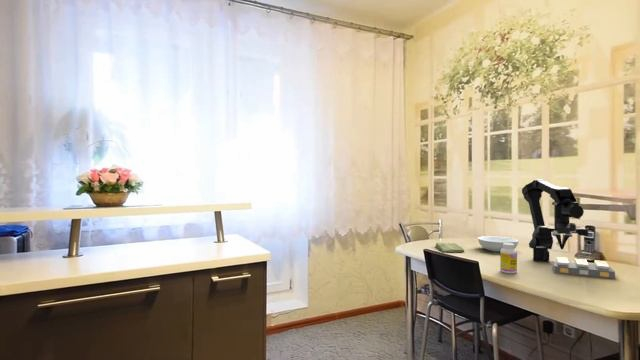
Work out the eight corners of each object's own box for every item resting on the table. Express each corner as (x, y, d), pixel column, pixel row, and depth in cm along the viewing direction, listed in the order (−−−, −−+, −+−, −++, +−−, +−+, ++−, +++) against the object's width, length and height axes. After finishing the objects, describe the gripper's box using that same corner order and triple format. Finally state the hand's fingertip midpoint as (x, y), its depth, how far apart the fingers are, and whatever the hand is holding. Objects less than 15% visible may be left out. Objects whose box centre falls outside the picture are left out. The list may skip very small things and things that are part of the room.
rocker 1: (558, 264, 157) (558, 262, 157) (556, 259, 162) (556, 256, 162) (568, 265, 155) (568, 263, 155) (567, 260, 160) (567, 257, 160)
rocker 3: (597, 268, 150) (597, 265, 150) (594, 262, 155) (594, 260, 155) (609, 269, 148) (609, 266, 148) (605, 263, 153) (605, 260, 153)
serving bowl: (526, 254, 192) (526, 241, 192) (488, 254, 192) (487, 242, 192) (506, 246, 213) (506, 235, 212) (472, 247, 213) (472, 235, 213)
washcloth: (442, 253, 198) (442, 248, 198) (434, 247, 216) (434, 242, 216) (466, 253, 197) (466, 248, 197) (456, 247, 215) (455, 242, 215)
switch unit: (554, 272, 155) (554, 265, 155) (552, 267, 164) (552, 260, 164) (615, 279, 145) (615, 270, 145) (609, 272, 154) (609, 265, 154)
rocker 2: (577, 266, 153) (577, 263, 153) (575, 261, 159) (575, 258, 158) (588, 267, 151) (588, 264, 151) (586, 262, 157) (586, 259, 156)
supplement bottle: (510, 274, 154) (510, 245, 154) (497, 271, 160) (497, 243, 159) (520, 272, 157) (520, 244, 157) (506, 269, 163) (506, 241, 163)
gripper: (539, 216, 157) (539, 250, 158) (590, 218, 148) (590, 255, 149) (537, 213, 167) (537, 246, 168) (585, 215, 158) (585, 249, 159)
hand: (561, 249), depth 160 cm, fingers closed
